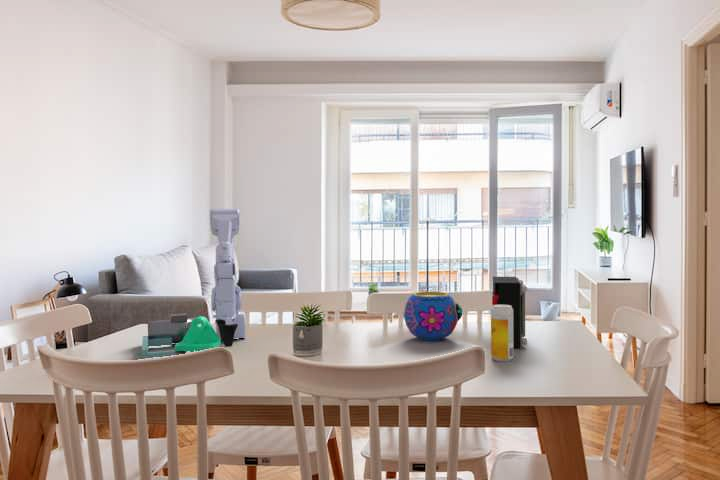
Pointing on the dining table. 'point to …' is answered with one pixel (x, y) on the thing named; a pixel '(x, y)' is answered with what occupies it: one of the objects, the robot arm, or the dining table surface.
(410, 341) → the dining table surface
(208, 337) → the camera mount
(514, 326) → the electrical component
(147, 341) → the pump bracket
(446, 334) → the ceramic pot
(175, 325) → the motor housing
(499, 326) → the beer can
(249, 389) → the dining table surface
